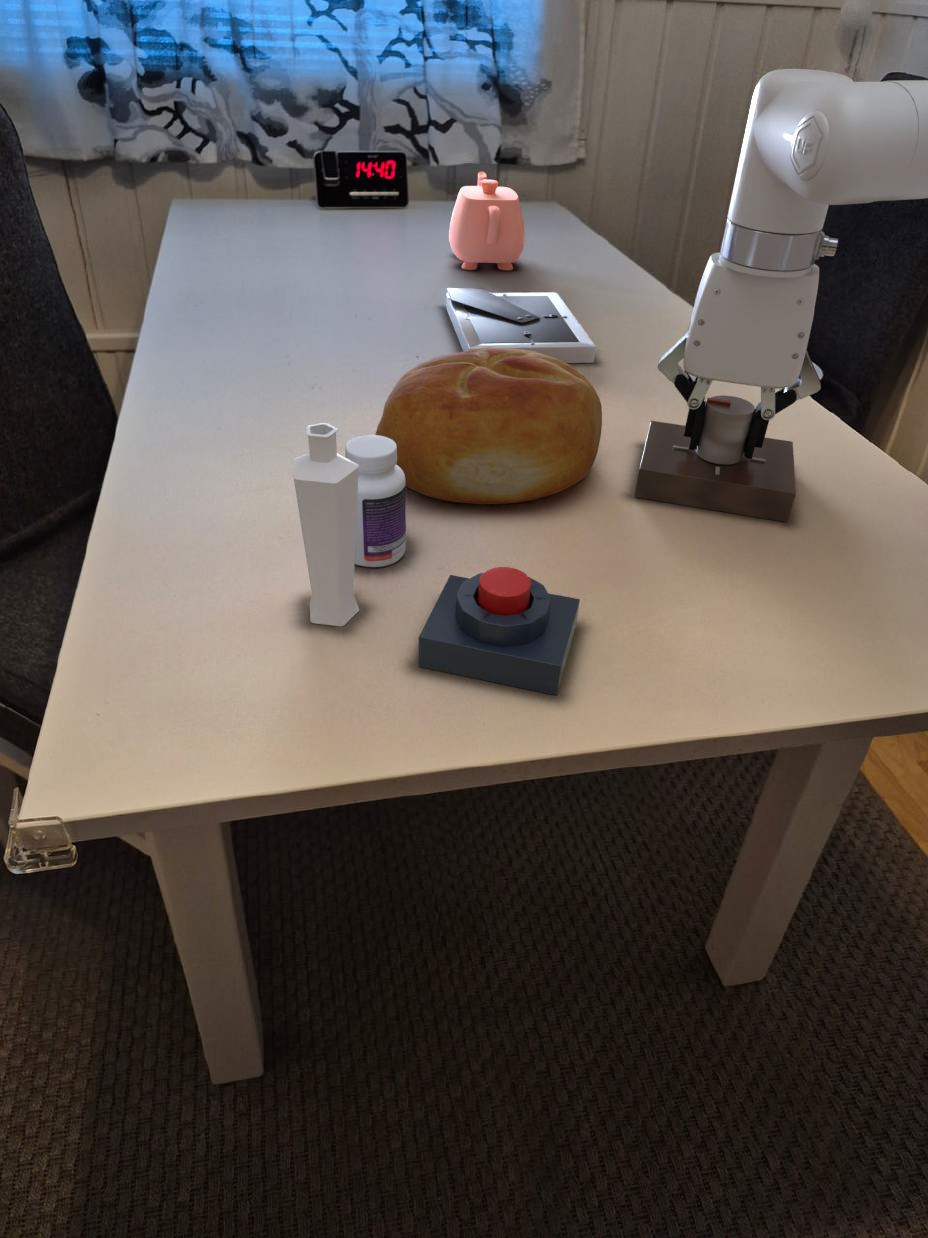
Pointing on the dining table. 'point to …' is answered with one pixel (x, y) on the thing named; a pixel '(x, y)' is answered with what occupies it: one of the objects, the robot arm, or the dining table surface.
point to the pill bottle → (378, 501)
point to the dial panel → (717, 476)
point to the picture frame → (518, 323)
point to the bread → (493, 426)
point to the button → (504, 591)
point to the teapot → (487, 225)
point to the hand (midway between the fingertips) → (720, 446)
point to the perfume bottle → (328, 524)
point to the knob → (725, 429)
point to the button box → (499, 637)
